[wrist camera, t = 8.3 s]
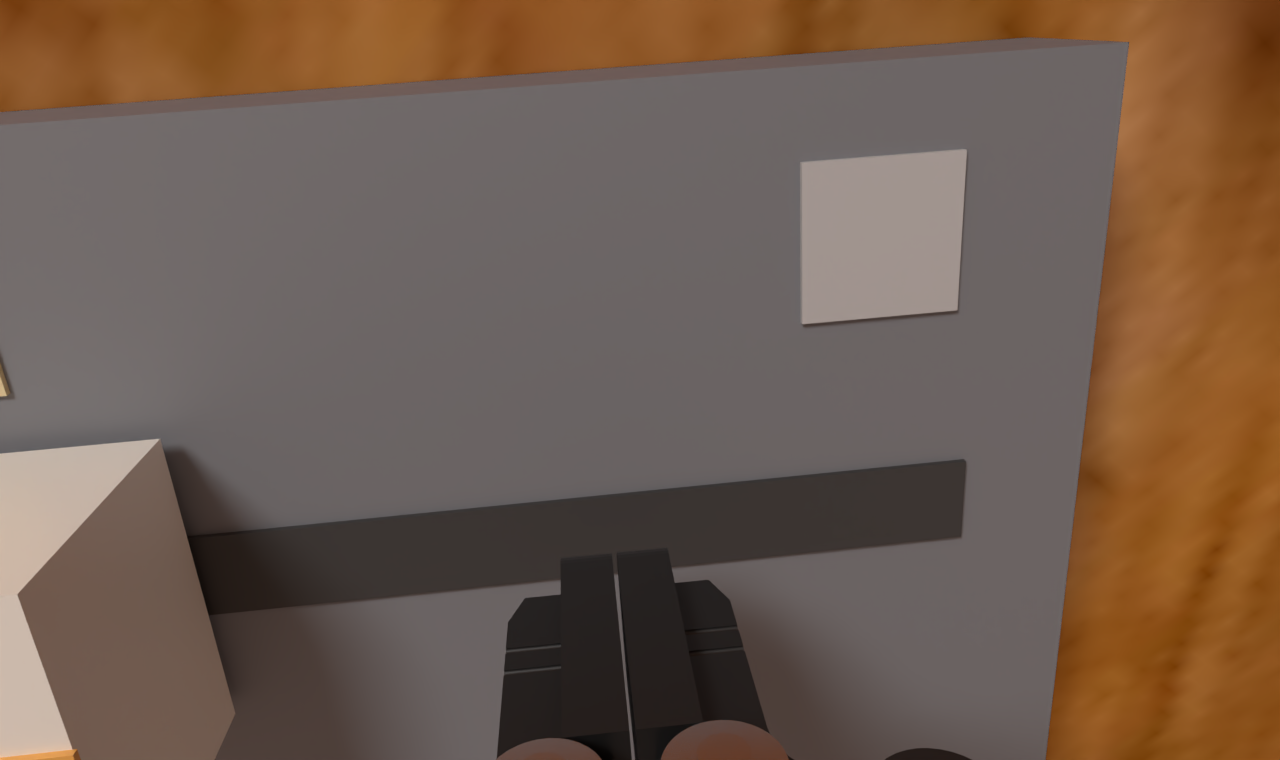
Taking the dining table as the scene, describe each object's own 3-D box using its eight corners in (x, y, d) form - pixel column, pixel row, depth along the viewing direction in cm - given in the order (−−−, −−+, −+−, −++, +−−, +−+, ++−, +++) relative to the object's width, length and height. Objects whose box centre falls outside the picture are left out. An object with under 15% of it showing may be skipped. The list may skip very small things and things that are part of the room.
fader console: (1029, 37, 16) (1133, 42, 13) (975, 701, 21) (1042, 809, 18) (-271, 131, 15) (-468, 159, 12) (3, 814, 20) (-89, 948, 17)
